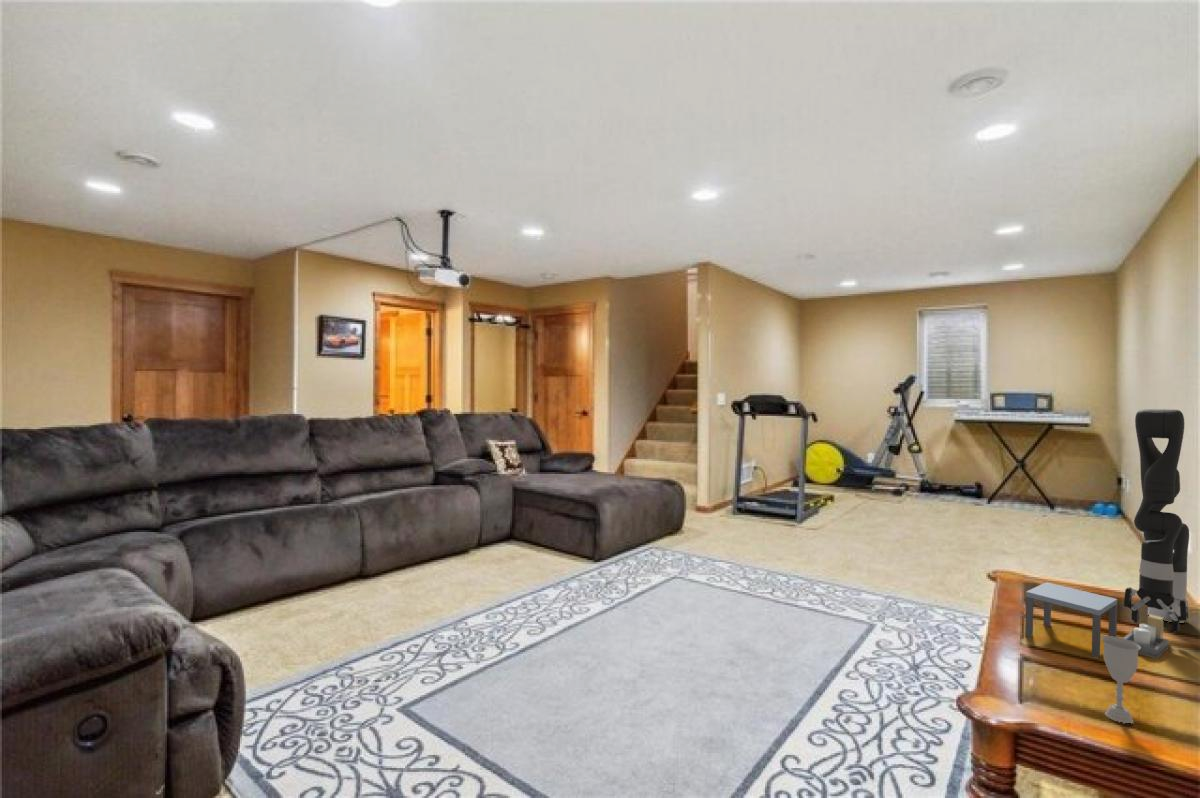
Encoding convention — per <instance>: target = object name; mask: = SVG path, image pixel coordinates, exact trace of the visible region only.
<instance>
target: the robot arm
mask: <svg viewBox="0 0 1200 798" xmlns="http://www.w3.org/2000/svg"><path fill="white" fill-rule="evenodd" d="M1134 423H1135V431H1136V438H1137V444H1138V450H1139V451H1138V452H1139V461H1140V463H1139V465H1140V466H1139V467H1140V483H1141V485H1140V486H1141V492H1142V500H1141V503H1140V504H1139V505H1140V506H1139V508H1138V509H1137V512H1136V514H1135V517H1134V520H1133V523H1134V527H1135V528H1136V529H1137V530H1138V531H1140V532H1141V533H1142V532H1143V539H1144V540H1143V541H1142V542H1141V546H1140V547H1141V550H1140V551H1141V552H1140V554H1141V555H1140V557H1141V558H1140V563H1139V569H1138V570H1139V571H1138V572H1139V577H1138V578H1139V583H1138V589H1134V588H1132V587H1127V588H1125V590H1124V598H1123V599H1124V601H1123V606H1124V607H1125V608H1128V609H1130V610H1131V620H1132V621H1133V622H1134V623H1135V624H1138V623H1139V622H1140V610H1139V609H1140V608H1142V607H1143V606H1147V616H1148V615H1150V614H1151V615H1155V616H1159V617H1163V618H1164V619H1163V620H1168V621H1172V623H1170V624H1171V626H1170V628H1171V629H1170V631H1171V633H1174V634H1175V633H1177V632H1178V631H1179V630H1180V624H1179V622H1180V621H1188V619H1189V605H1188V603H1189V602H1188V600H1187V591H1188V590H1187V588H1188V587H1187V585H1188V581H1187V580H1188V579H1187V578H1188V550H1189V542H1190V529H1189V526H1188V525H1187V524H1185V523H1184V522H1183V521H1182V519H1181V517H1180V516H1179V515H1178V514H1176V513H1173V512H1165V511H1162V510H1163V509H1164V508H1165V507H1166V506H1167V505H1173V504H1174V502H1175V498H1177V497H1178V495H1179V493H1180V492H1181V477H1180V472H1179V470H1178V465H1179V461H1180V456H1181V450H1182V445H1183V440H1184V433H1185V417H1184V413H1183V412H1182V411H1181V410H1179V409H1167V408H1166V409H1165V408H1164V409H1163V408H1161V409H1159V408H1157V409H1156V408H1153V409H1151V408H1150V409H1149V408H1147V409H1146V408H1144V409H1139V410H1138V411H1137V412H1136V414H1135V419H1134ZM1154 439H1168V442H1167V445H1166V447H1165V449H1164V450H1163V452H1161V451H1160V450H1159V448H1158V447H1157V446H1156V443H1155V442H1154ZM1135 595H1137V596H1138V598H1139V599H1140V600H1139V601H1138V602H1137V603H1135V604H1134V603H1132V599H1133V597H1134V596H1135Z"/></svg>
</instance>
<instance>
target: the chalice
mask: <svg viewBox="0 0 1200 798" xmlns="http://www.w3.org/2000/svg"><path fill="white" fill-rule="evenodd" d="M1101 640H1102V642H1103V659H1104V660H1103V661H1104V663H1105V665H1106V669H1107V671H1108V672H1109V674H1110V676H1111V678H1112V679H1113V680H1114V681H1116V687H1115V690H1116V694H1115V695H1114V697H1115V699H1116V702H1115V704H1111V705H1109V707H1108V708H1107V709H1106V711H1105V712H1104V715H1105V716H1106V717H1107V718H1108V719H1110V720H1112V721H1115V722H1117V721H1118V723H1120V722H1123V723H1122V724H1125V723H1131V724H1134V719H1133V718H1132V716H1131V714H1130V713H1131V712H1130V711H1129V710H1128V709H1127V708H1126V707H1124V705H1123V701H1124V700H1125V698H1124V696H1123V693H1124V692H1125V690H1124V688H1123V684H1126V683H1129V681H1130V680H1131V679H1132V677H1133V676H1134V675H1135V673H1136V672H1137V669H1138V666H1139V665H1138V659H1139V653H1138V651H1139V650H1140V648H1141V647H1140V645H1138V644H1137V643H1135V642H1132V641H1130V640H1127V639H1124V637H1119V636H1116V637H1114V636H1108V635H1105V636H1102V637H1101ZM1131 724H1130V725H1131Z"/></svg>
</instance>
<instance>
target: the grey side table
mask: <svg viewBox="0 0 1200 798" xmlns="http://www.w3.org/2000/svg"><path fill="white" fill-rule="evenodd" d="M1034 599H1035V600H1038V601H1042V602H1043V623H1042V624H1043V626H1044V627H1050V626H1051V625H1052V604H1053V605H1054V604H1055V605H1057V606H1061V607H1066V608H1069V609H1072V610H1073V609H1074V610H1077V611H1081V612H1084V613H1087V614H1092V618H1091V619H1092V621H1091V622H1092V624H1091V625H1092V627H1091V629H1092V630H1091V657H1093V658H1096V659H1099V658H1100V657H1101V635H1102V634H1101V631H1102V629H1101V626H1102V625H1101V624H1102V614H1104V613H1106V612H1108V635H1107V636H1114V637H1117V630H1118V628H1117V626H1118V624H1117V623H1118V622H1117V621H1118V599H1117V598H1114V597H1110V596H1106V595H1101V594H1097V593H1093V592H1088V591H1086V590H1085V591H1084V590H1081V589H1076V588H1072V587H1067V586H1064V585H1059V584H1055V583H1052V582H1047V581H1046V582H1044V583H1041V584H1040V585H1037V586H1035V587H1032V588H1031V589H1029V590H1027V591H1026V592H1025V624H1024V625H1025V626H1024V627H1025V628H1024V629H1025V632H1024V635H1025V637H1028V638H1032V637H1033V636H1034V601H1035V600H1034Z"/></svg>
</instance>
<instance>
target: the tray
mask: <svg viewBox="0 0 1200 798" xmlns="http://www.w3.org/2000/svg"><path fill="white" fill-rule="evenodd" d="M1163 619H1164V618H1163V617H1159V616H1155V615H1151V614H1150V615H1149V616H1148V615H1147V623H1139V627H1134V628H1133V629H1132V631H1130V632H1129V633H1127V634H1126V635H1125V636H1124V637H1123V638H1124V639H1127V640H1130V641H1132V642H1135V643H1137V644H1138V645H1140V647H1141V648H1140V650H1139V651H1138V655H1143V656H1145V655H1146V657H1150V658H1152V657H1153V659H1156V660H1157V659H1158V658H1160V657H1161V655H1163V654H1164V653H1165V652H1166V651H1167V650H1168V649H1169V639H1168V638H1164V621H1163ZM1167 648H1168V649H1167ZM1166 649H1167V650H1166ZM1165 650H1166V651H1165ZM1164 651H1165V652H1164ZM1163 652H1164V653H1163Z"/></svg>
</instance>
